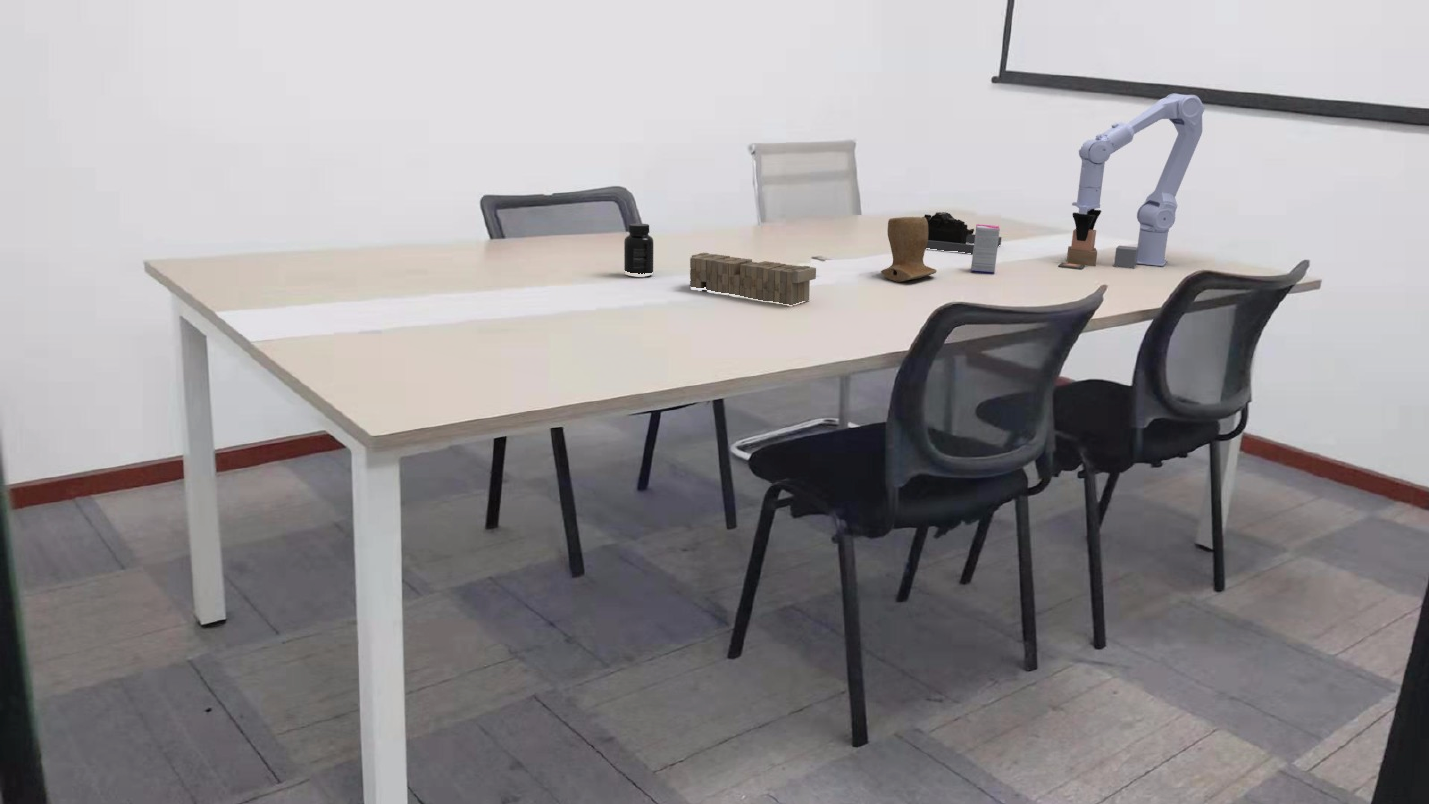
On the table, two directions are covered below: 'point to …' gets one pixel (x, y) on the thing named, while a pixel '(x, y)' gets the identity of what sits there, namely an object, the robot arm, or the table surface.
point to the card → (1071, 266)
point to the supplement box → (985, 249)
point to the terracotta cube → (1084, 245)
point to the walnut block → (1082, 257)
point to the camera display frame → (955, 245)
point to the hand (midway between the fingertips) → (1083, 238)
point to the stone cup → (907, 248)
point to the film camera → (947, 228)
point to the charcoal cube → (1126, 257)
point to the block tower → (751, 278)
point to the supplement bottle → (638, 249)
